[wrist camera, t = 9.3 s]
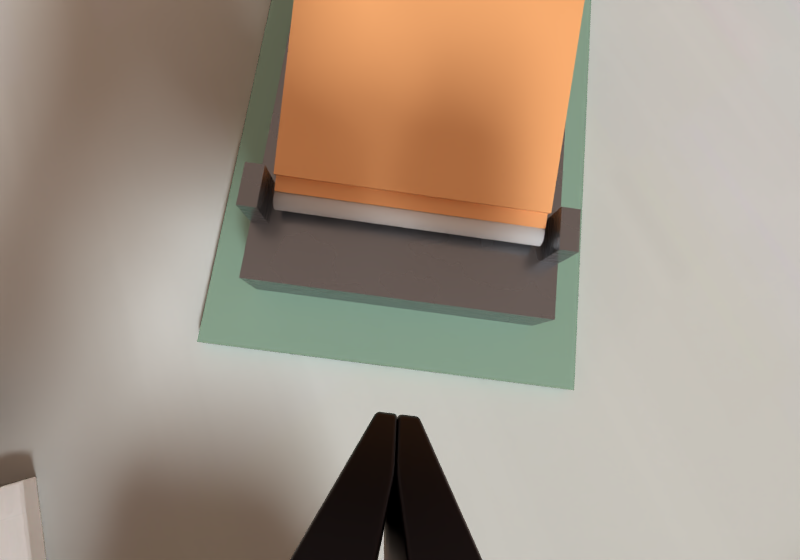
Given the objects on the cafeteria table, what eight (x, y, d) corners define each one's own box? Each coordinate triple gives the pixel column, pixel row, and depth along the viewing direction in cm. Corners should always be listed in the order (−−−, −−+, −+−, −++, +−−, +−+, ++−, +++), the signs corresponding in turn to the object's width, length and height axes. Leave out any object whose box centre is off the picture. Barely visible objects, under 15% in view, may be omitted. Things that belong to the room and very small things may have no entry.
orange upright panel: (545, 245, 16) (595, -71, 15) (269, 207, 16) (307, -117, 15) (532, 246, 17) (577, -42, 17) (280, 211, 17) (315, -83, 16)
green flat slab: (567, 389, 19) (574, 389, 19) (202, 342, 19) (197, 341, 18) (587, -27, 24) (592, -37, 23) (291, -74, 23) (289, -85, 23)
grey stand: (531, 325, 19) (707, 280, 9) (256, 289, 19) (119, 198, 9) (553, -4, 23) (697, -305, 12) (321, -41, 22) (276, -381, 12)
